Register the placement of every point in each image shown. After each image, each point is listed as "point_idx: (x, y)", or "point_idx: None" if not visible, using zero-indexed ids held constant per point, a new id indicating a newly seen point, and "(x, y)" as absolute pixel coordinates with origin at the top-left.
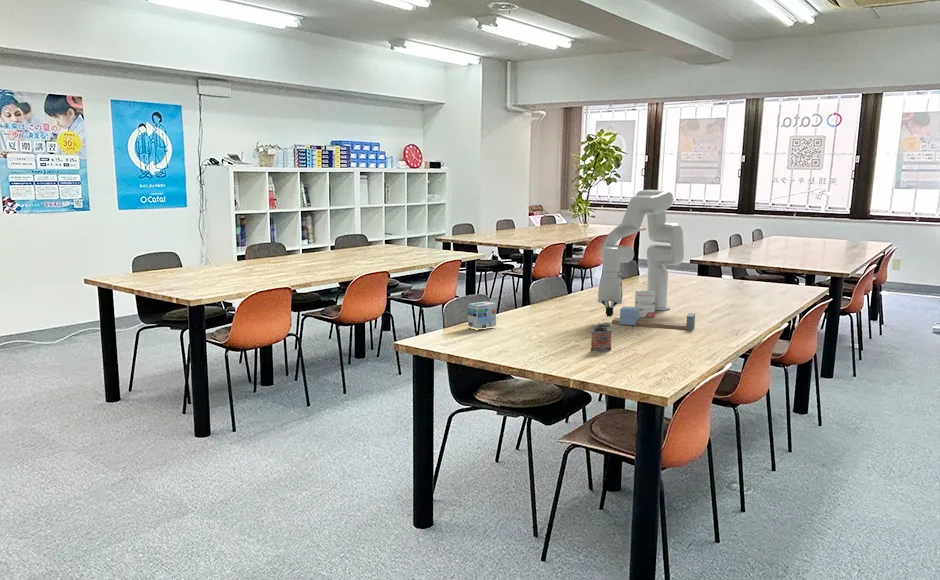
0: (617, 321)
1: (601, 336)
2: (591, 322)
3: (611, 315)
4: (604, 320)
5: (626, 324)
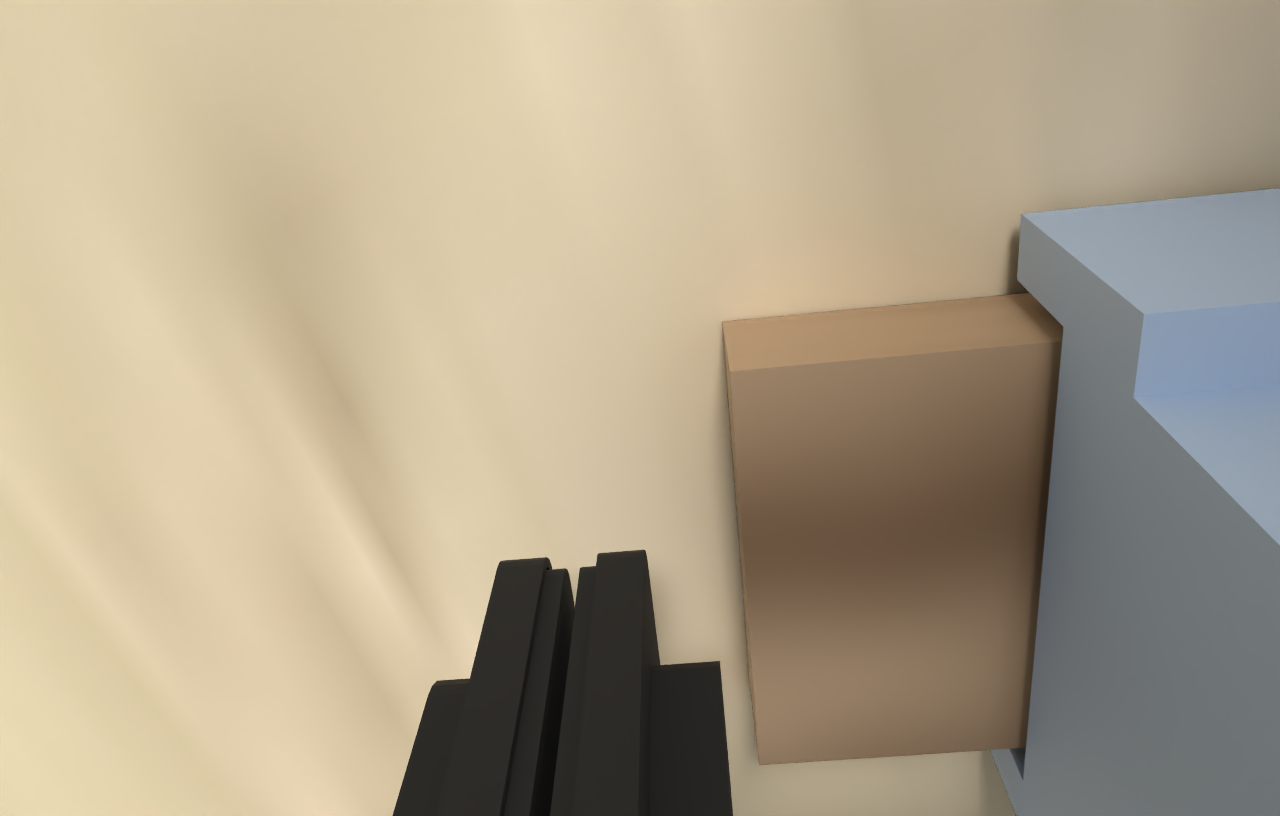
0: (928, 730)
1: None
2: (223, 792)
3: (652, 616)
4: (380, 393)
5: None
